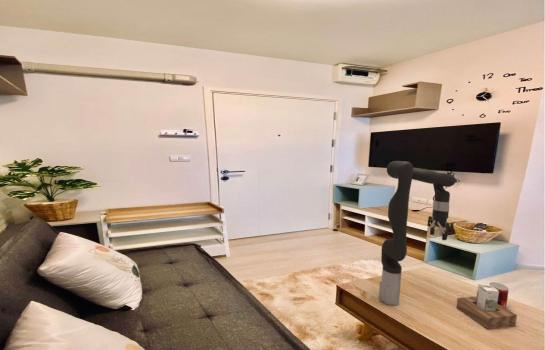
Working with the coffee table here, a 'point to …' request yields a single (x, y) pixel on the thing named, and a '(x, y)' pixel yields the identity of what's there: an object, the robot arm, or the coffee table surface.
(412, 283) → the coffee table surface
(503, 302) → the canned food
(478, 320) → the hollow square frame
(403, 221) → the robot arm
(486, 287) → the syrup box
